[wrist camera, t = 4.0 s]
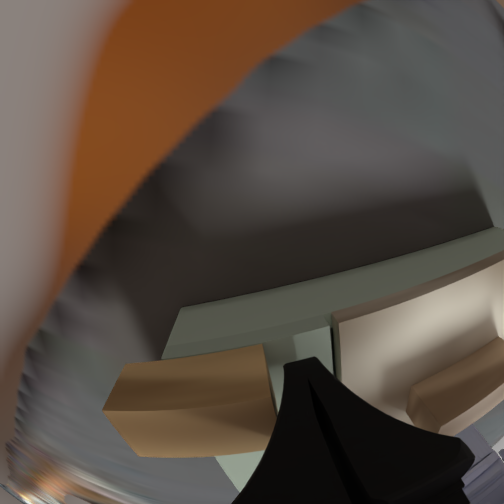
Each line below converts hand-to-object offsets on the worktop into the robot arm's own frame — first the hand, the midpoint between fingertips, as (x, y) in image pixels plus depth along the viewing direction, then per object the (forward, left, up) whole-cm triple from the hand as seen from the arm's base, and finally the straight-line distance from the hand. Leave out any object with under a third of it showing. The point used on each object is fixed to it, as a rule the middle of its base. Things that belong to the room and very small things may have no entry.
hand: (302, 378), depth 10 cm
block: (0, +4, -1) cm, 4 cm away
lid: (-6, -10, -2) cm, 12 cm away
